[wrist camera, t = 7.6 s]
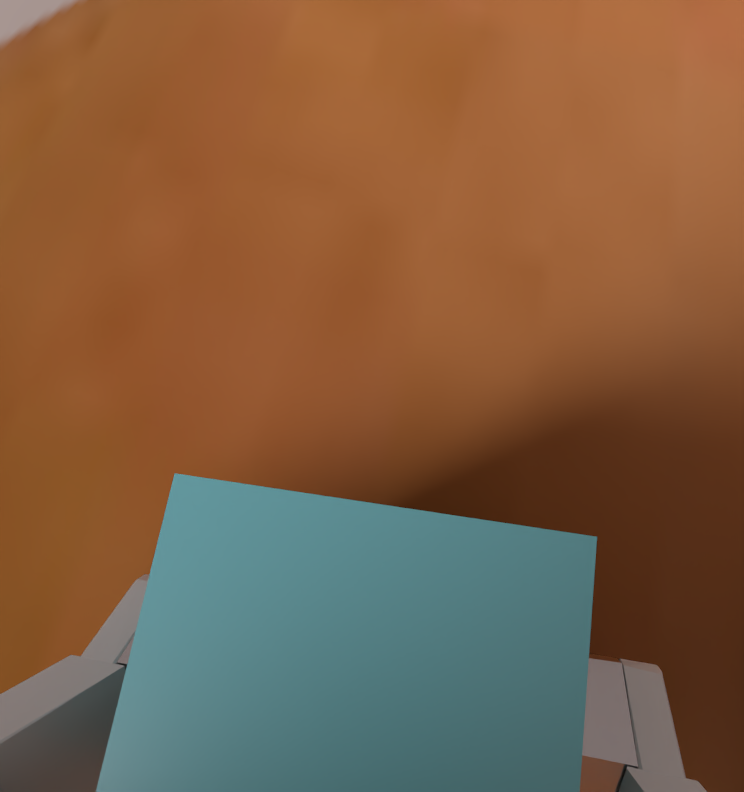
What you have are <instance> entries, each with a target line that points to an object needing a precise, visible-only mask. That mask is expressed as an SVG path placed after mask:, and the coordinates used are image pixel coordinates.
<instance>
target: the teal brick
mask: <svg viewBox="0 0 744 792" xmlns="http://www.w3.org/2000/svg"><path fill="white" fill-rule="evenodd" d="M596 546H597V537H596V536H589V535H582V534H576V533H569V532H562V531H556V530H549V529H542V528H536V527H529V526H522V525H516V524H509V523H502V522H496V521H489V520H482V519H476V518H469V517H462V516H456V515H449V514H442V513H436V512H429V511H422V510H416V509H409V508H402V507H395V506H389V505H382V504H375V503H369V502H362V501H355V500H349V499H342V498H335V497H329V496H322V495H315V494H309V493H302V492H295V491H289V490H282V489H275V488H269V487H262V486H255V485H249V484H242V483H235V482H229V481H222V480H215V479H209V478H202V477H195V476H189V475H182V474H174V478H173V482H172V486H171V490H170V494H169V498H168V502H167V506H166V510H165V515H164V519H163V523H162V527H161V531H160V535H159V539H158V543H157V547H156V551H155V555H154V559H153V563H152V567H151V571H150V575H149V579H148V583H147V587H146V591H145V595H144V599H143V603H142V607H141V611H140V615H139V619H138V623H137V627H136V631H135V635H134V640H133V644H132V648H131V652H130V656H129V660H128V664H127V668H126V672H125V676H124V680H123V684H122V688H121V692H120V696H119V700H118V704H117V708H116V712H115V716H114V720H113V724H112V728H111V732H110V736H109V740H108V744H107V748H106V752H105V756H104V760H103V764H102V769H101V773H100V777H99V781H98V785H97V789H96V792H580V779H581V764H582V750H583V735H584V721H585V706H586V691H587V677H588V662H589V648H590V633H591V619H592V604H593V589H594V575H595V560H596Z"/></svg>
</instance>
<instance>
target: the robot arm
mask: <svg viewBox="0 0 744 792" xmlns="http://www.w3.org/2000/svg"><path fill="white" fill-rule="evenodd" d="M148 579H149V575H147V574H144V575H143V576H141V577H140V578H138V579H137V580H136V581H135V582H134V583H133V584H132V586H131V587H130V589H129V590H128V591H127V593H126V594H125V595H124V597H123V598H122V600H121V601H120V602H119V604H118V605H117V606H116V608H115V609H114V611H113V612H112V613H111V615H110V616H109V617H108V619H107V620H106V622H105V623H104V624H103V626H102V627H101V629H100V630H99V631H98V633H97V634H96V635H95V637H94V638H93V640H92V641H91V642H90V644H89V645H88V646H87V648H86V649H85V651H84V652H83V653H82V655H81V656H75V655H70V656H68V657H66V658H65V659H63V660H61V661H59V662H57V663H56V664H54V665H52V666H50V667H48V668H47V669H45V670H43V671H41V672H39V673H38V674H36V675H34V676H32V677H31V678H29V679H27V680H25V681H23V682H22V683H20V684H18V685H16V686H14V687H13V688H11V689H9V690H7V691H5V692H4V693H2V694H0V792H96V789H97V785H98V781H99V777H100V773H101V769H102V764H103V760H104V756H105V752H106V748H107V744H108V740H109V736H110V732H111V728H112V724H113V720H114V716H115V712H116V708H117V704H118V700H119V696H120V692H121V688H122V684H123V680H124V676H125V672H126V668H127V664H128V660H129V656H130V652H131V648H132V644H133V640H134V635H135V631H136V627H137V623H138V619H139V615H140V611H141V607H142V603H143V599H144V595H145V591H146V587H147V583H148ZM580 792H707V791H706V790H705V789H704V787H703V786H702V785H701V784H700V783H699V781H696V780H692V779H687V778H686V776H685V772H684V767H683V763H682V758H681V754H680V750H679V745H678V741H677V736H676V732H675V727H674V723H673V718H672V714H671V710H670V705H669V701H668V696H667V692H666V687H665V683H664V679H663V674H662V671H661V670H660V668H659V667H658V665H655V664H649V663H643V662H637V661H632V660H626V659H617V658H616V657H610V656H604V655H598V654H592V653H589V662H588V677H587V691H586V706H585V721H584V735H583V750H582V764H581V779H580Z"/></svg>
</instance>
